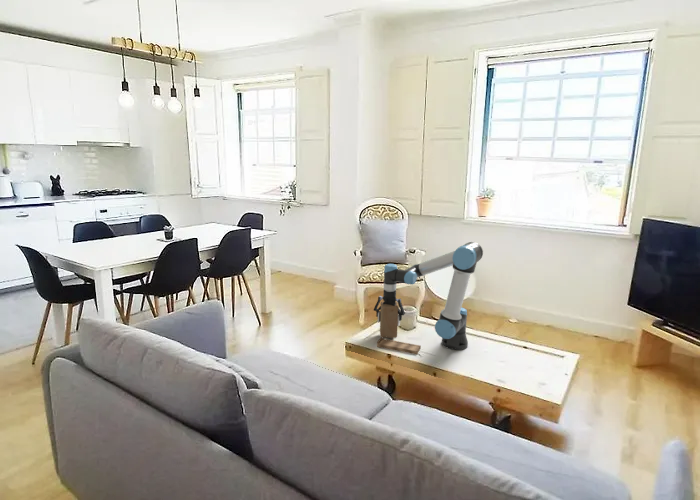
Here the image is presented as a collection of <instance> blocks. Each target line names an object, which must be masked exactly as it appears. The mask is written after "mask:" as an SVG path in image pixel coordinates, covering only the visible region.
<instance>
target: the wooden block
mask: <svg viewBox="0 0 700 500" xmlns="http://www.w3.org/2000/svg"><path fill="white" fill-rule="evenodd" d="M383 303H384V301H380V306H381V309H380V311H381V312H380V322H379V333H380V334H379V335H380V338H381V337H383V339H387V338H388V339H390V338H391V339H396V338H397V337H398V327H399V326H398V315H399V314H398V308H399V305H398V303H397V301H396V305H395V306H392V305H389V304H383Z"/></svg>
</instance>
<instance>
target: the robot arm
mask: <svg viewBox="0 0 700 500" xmlns="http://www.w3.org/2000/svg"><path fill="white" fill-rule="evenodd" d="M483 254H484V250H483V247H482V246H481V245H480V244H479V243H477V242H475V241H471V242H466V243H465V244H463V245H461V246H459V247H457V248H456V250H453V251H451V252H448V253H445V254H442V255H440V256H437V257H434V258H431V259H429V260H426V261H425V260H424V261H423V262H421V263H417V264H413V265H412V266H410V267H408V268H407V269H401V268H400V269H399V268H398V265H397V264H394V263H387V264H385V265H384V267H383V268H384V269H383V270H384V271H383V296H382V295H379V296H378V298H377V301H376V303H375V305H374V308H373V311H375V312H376V315H375V316H376V317H377V323H379V324H380V312H381V305H380V304H381V302H382V300H383V302H384V303H383V304H389V305H392V306H395V305H396V302H397V305H398V326H397V327H400V325H401V321H402V319H403V318H402V317H403V316H404V315H405V314H406V312H405V309H404V307H403V304H402V298H397V283H401V284H406V285H412V286H413V285H415V284H416V282H417V280H418V278H420V277H423V276H426V275H428V274H432V273H434V272H437V271H441V270H443V269H447V268H450V267H452V269H453V270H454V271H453V275H452V279H451V283H450V287H449V289H448V292H447V298H446V302H445V304H444V305H445V306H444V308H443V309H442V310H440V313H439V314H440V315H439V318H438V320H437V321H436V322H435V324H434V330H435V333H436V335H438V337H440V338H441V345H442V346H443V347H445V348H446V349H450V350H454V351H461V350H465V349H467V348H468V347H469V346H468V345H469V343H468V342H469V341H468V337H467V333H466V331H467V330H466V329H467V321H468V320H467V318H468V311H467V310H468V309H466V308H464V307H463V303H464V299H465V296H466V291H467V287H468V284H469V281H470V277H471V275H472V274H474V273H475V270H476V266H477V263H478V262H479V261H481V259H482V258H483ZM379 305H380V306H379ZM378 306H379V307H378Z"/></svg>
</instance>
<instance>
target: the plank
mask: <svg viewBox="0 0 700 500" xmlns="http://www.w3.org/2000/svg"><path fill="white" fill-rule="evenodd" d="M376 347H377V348H381V349H387V350H392V351H397V352H400V353H401V352H402V353H407V354H411V355H412V354H413V355H418V354H419V352H420V350H421V347H422V345H420V344H413V343H410V342H409V343H408V342H404V341H399V340H392V339H389V338H388V339H387V338H383V337H381V336H380V338H379V339H378V340H377V341H376Z"/></svg>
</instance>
